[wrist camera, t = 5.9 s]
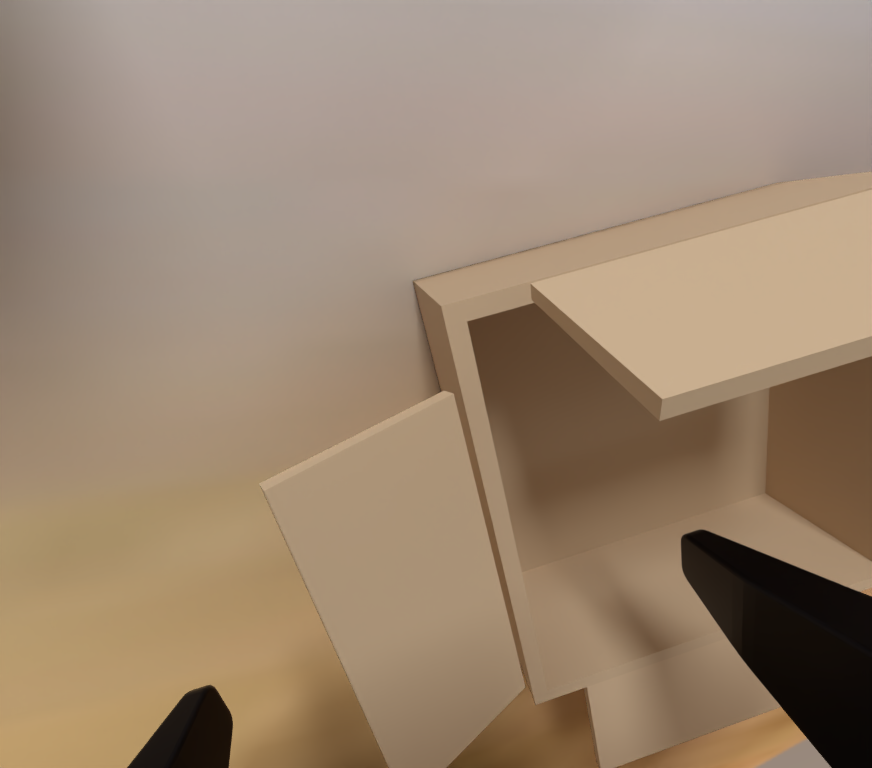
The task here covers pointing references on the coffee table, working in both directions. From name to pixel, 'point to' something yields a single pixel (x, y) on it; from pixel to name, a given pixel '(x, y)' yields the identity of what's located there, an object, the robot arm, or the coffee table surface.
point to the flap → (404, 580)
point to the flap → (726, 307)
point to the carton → (642, 484)
